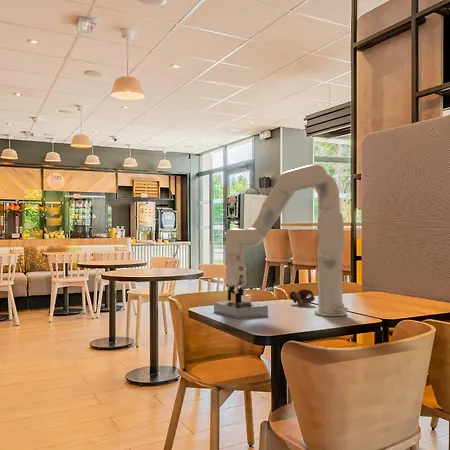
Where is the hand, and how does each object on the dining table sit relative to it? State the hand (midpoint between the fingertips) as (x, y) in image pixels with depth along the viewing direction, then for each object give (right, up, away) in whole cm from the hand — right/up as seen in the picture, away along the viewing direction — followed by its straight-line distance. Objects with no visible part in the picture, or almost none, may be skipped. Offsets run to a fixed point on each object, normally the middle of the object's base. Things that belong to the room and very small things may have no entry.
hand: (235, 301), depth 196 cm
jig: (+2, -5, -4) cm, 6 cm away
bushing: (0, -5, 0) cm, 5 cm away
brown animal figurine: (+31, -5, +20) cm, 37 cm away
